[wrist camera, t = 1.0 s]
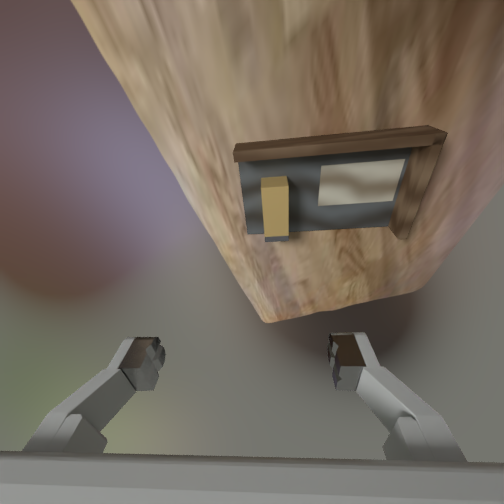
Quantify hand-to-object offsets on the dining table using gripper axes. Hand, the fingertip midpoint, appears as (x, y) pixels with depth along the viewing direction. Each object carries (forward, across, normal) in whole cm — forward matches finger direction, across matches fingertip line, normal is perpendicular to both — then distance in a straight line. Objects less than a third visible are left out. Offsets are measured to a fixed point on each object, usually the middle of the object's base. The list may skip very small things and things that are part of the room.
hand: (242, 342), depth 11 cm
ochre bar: (+36, -3, +7) cm, 37 cm away
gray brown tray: (+36, -12, +5) cm, 38 cm away
